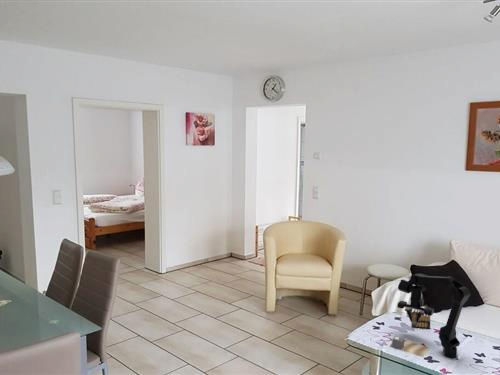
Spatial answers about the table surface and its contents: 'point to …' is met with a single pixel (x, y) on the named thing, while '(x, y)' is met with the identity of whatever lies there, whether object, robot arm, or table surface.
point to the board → (414, 348)
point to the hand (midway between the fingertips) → (414, 322)
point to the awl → (414, 318)
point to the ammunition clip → (423, 322)
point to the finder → (398, 342)
